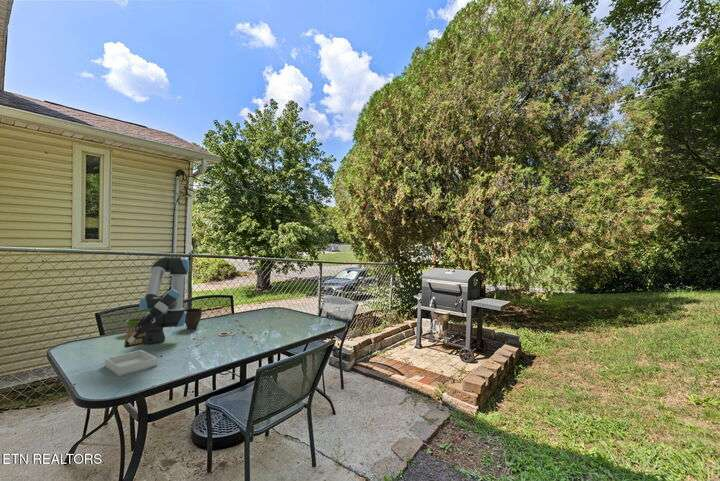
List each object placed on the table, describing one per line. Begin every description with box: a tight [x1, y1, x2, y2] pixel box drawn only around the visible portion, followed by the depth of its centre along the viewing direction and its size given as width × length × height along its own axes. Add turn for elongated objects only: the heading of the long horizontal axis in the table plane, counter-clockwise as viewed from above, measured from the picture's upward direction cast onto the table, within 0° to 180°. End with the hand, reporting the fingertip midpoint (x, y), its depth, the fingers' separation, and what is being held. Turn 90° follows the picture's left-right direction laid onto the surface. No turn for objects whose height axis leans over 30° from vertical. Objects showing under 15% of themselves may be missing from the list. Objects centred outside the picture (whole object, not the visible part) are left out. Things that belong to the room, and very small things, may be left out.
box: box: [103, 349, 158, 377], centre depth 195 cm, size 22×20×5 cm
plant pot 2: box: [184, 308, 203, 330], centre depth 278 cm, size 15×15×16 cm
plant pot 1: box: [126, 317, 143, 333], centre depth 256 cm, size 12×12×11 cm
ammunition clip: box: [123, 326, 146, 349], centre depth 195 cm, size 11×2×12 cm, turn 148°
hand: (127, 341), depth 192 cm, fingers closed on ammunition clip, 2 cm apart
